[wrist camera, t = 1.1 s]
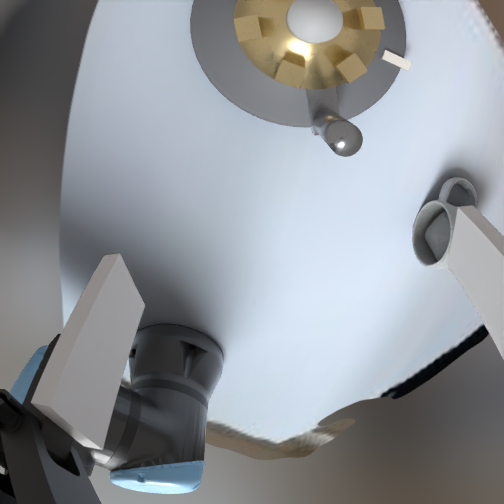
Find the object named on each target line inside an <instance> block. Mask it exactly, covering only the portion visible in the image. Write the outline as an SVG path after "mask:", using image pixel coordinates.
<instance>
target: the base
mask: <svg viewBox="0 0 504 504" xmlns="http://www.w3.org/2000/svg"><path fill="white" fill-rule="evenodd" d="M373 1H374V3H375V5H376V7H381V9H382V14H383V19H384V25H385V29H384V30H381V36H380V42H379V46H378V49H377V52H376V54H375V56H374V58H373V60H372V61H371V62H370V64H369V65H368V66H367V67H366V68H367V70H368V71H367V72H365V73H364V74H362V75H361V76H359V77H358V78H357V79H355V80H354V81H352V82H351V83H344V84H342V85H339V86H336V91H337V98H338V106H339V114H340V116H342V117H343V118H345V119H346V120H348V119H350V118H352V117H354V116H357V115H359V114H360V113H362V112H364V111H365V110H367V109H368V108H370V107H371V106H372V105H374V104H375V103H376V102H377V101H378V100H379V99H380V98H381V97H382V96H383V95H384V94H385V93H386V92H387V91H388V89H389V88H390V86H391V85H392V84H393V82H394V81H395V79H396V77H397V75H398V73H399V71H400V68H403V69H405V70H407V71H409V69H410V66H411V63H412V62H410V61H408V60H406V59H404V53H405V48H406V30H405V22H404V18H403V14H402V10H401V8H400V5H399V2H398V0H373ZM236 2H237V0H194V3H193V6H192V12H191V19H190V23H191V38H192V44H193V47H194V51H195V54H196V57H197V59H198V61H199V63H200V65H201V67H202V70H203V71H204V73H205V74H206V76H207V77H208V79H209V80H210V81H211V83H212V84H213V85H214V86H215V87H216V88H217V90H218V91H219V92H220V93H221V94H223V95H224V96H225V97H226V98H227V99H228V100H229V101H231V102H232V103H233V104H235V105H236V106H238V107H239V108H241V109H242V110H244V111H246V112H248V113H250V114H252V115H253V116H256V117H258V118H261V119H263V120H266V121H269V122H273V123H277V124H280V125H287V126H293V127H311V120H310V114H309V107H308V101H307V95H306V89H302V88H299V89H298V88H296V87H292V86H289V85H285V84H283V83H281V82H278V81H276V80H274V79H272V78H271V77H269V76H267V75H266V74H265V73H263V72H262V71H260V70H259V69H258V68H257V67H256V66H255V65H254V64H253V63H252V62H251V61H250V60H249V58H248V57H247V56H246V54H245V53H244V51H243V50H242V48H241V46H240V44H239V41H238V39H237V35H236V32H235V26H234V11H235V5H236ZM286 25H287V28H288V30H289V31H290V33H291V34H292V35H293V36H294V37H295V38H297V39H298V40H300V41H302V42H305V43H312V44H313V43H321V42H325V41H328V40H331V39H333V38H334V37H335V36H337V35H338V33H339V32H340V30H341V28H342V25H343V16H342V13H341V10H340V9H339V7H338V6H337V4H336V3H335V2H333V1H332V0H296V1H295V2H294V3H293V4H292V5H291V6H290V8H289V9H288V11H287V14H286Z"/></svg>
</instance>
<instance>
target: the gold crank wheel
mask: <svg viewBox="0 0 504 504" xmlns="http://www.w3.org/2000/svg"><path fill="white" fill-rule="evenodd" d="M295 1H296V0H237V2H236V5H235V11H234V26H235V32H236V35H237V39H238V41H239V44H240V46H241V48H242V50H243V51H244V53H245V54H246V56H247V57H248V58H249V60H250V61H251V62H252V63H253V64H254V65H255V66H256V67H257V68H258V69H259V70H260V71H262V72H263V73H265V74H266V75H267V76H269V77H271V78H272V79H274V80H276V81H278V82H281V83H283V84H285V85H289V86H292V87H296V88H298V89H299V88H302V89H306V95H307V101H308V107H309V114H310V120H311V127H312V133H313V134H314V135H320V136H321V137H322V138H323V139H324V141H325V142H326V143H327V144H328V145H329V147H330V148H331V149H332V150H333V151H334V152H335V153H336V154H338V155H340V156H345V157H346V156H351V155H354V154H355V153H356V152H358V151H359V149H360V148H361V145H362V141H363V138H362V134H361V131H360V130H359V129H358V128H357V127H356V126H355V125H353V124H352V123H350V122H349V121H348V120H346V119H345V118H343V117H342V116H340V114H339V106H338V98H337V91H336V86H339V85H342V84H344V83H351V82H352V81H354V80H355V79H357V78H358V77H359V76H361V75H362V74H364V73H365V72H367V71H368V70H367V68H366V67H367V66H368V65H369V64H370V62H371V61H372V60H373V58H374V56H375V54H376V52H377V49H378V46H379V42H380V36H381V30H384V29H385V25H384V19H383V14H382V9H381V7H376V5H375V3H374V1H373V0H332V1H333V2H335V3H336V4H337V6H338V7H339V9H340V10H341V13H342V16H343V25H342V28H341V30H340V32H339V33H338V35H337V36H335V37H334V38H333V39H331V40H328V41H325V42H321V43H313V44H312V43H305V42H302V41H300V40H298V39H297V38H295V37H294V36H293V35H292V34H291V33H290V31H289V30H288V28H287V25H286V14H287V11H288V9H289V8H290V6H291V5H292V4H293V3H294V2H295Z"/></svg>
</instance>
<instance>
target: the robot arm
mask: <svg viewBox="0 0 504 504" xmlns="http://www.w3.org/2000/svg"><path fill="white" fill-rule="evenodd" d="M447 266H448V267H449V269H450V270H451V272H452V273H453V275H454V276H455V278H456V279H457V281H458V282H459V284H460V285H461V287H462V288H463V290H464V291H465V293H466V294H467V296H468V298H469V299H470V301H471V303H472V304H473V306H474V307H475V309H476V311H477V312H478V314H479V316H480V317H481V319H482V321H483V323H484V324H485V326H486V328H487V330H488V331H489V333H490V335H491V337H492V338H493V340H494V342H495V344H496V346H497V348H498V349H499V352H500V354H501V356H502V357H503V359H504V236H503V235H502V234H501V233H500V232H499V231H498V230H497V229H496V228H495V227H494V226H493V225H492V224H491V223H490V222H489V221H488V220H487V219H486V218H485V217H484V216H483V215H482V214H481V213H480V212H479V211H478V210H477V209H476V208H475V207H474V206H473V205H471V206H462V207H458V209H457V215H456V221H455V227H454V232H453V238H452V243H451V248H450V252H449V257H448V262H447ZM144 308H145V304H144V302H143V300H142V298H141V296H140V294H139V292H138V290H137V288H136V286H135V284H134V282H133V279H132V277H131V275H130V273H129V271H128V269H127V267H126V265H125V262H124V260H123V258H122V256H121V254H120V253H117V254H111V255H105V256H103V258H102V260H101V261H100V263H99V265H98V267H97V268H96V270H95V272H94V273H93V275H92V277H91V279H90V280H89V282H88V284H87V286H86V288H85V289H84V291H83V293H82V295H81V297H80V299H79V300H78V302H77V304H76V306H75V308H74V310H73V312H72V314H71V316H70V318H69V319H68V321H67V323H66V325H65V327H64V329H63V331H62V333H61V334H58V335H57V336H56V337H55V338H54V339H53V341H52V342H51V343H50V344H49V345H45V346H42V347H40V348H39V349H38V350H37V351H36V352H35V353H34V354H33V356H32V357H31V359H30V360H29V362H28V363H27V364H26V366H25V367H24V369H23V370H22V372H21V373H20V375H19V377H18V378H17V380H16V381H15V383H14V385H13V386H12V388H11V390H10V391H9V392H8V391H6V390H5V389H0V466H2V467H3V468H5V471H4V474H1V473H0V504H101V502H100V500H99V498H98V496H97V494H96V492H95V490H94V488H93V486H92V484H91V482H90V480H89V477H90V476H91V473H92V470H93V467H94V465H98V466H101V467H104V468H106V469H108V470H110V471H111V472H110V473H109V476H110V480H111V482H112V483H114V484H116V485H119V486H120V487H123V488H127V489H132V490H137V491H143V492H152V493H165V494H172V493H173V494H177V493H187V492H191V491H194V490H195V489H197V488H198V487H199V485H200V483H201V479H202V473H203V467H204V464H205V461H204V452H205V438H206V424H207V410H208V401H209V399H210V397H211V395H212V393H213V391H214V389H215V387H216V385H217V383H218V381H219V379H220V377H221V374H222V368H223V355H222V352H221V350H220V348H219V347H218V346H217V344H216V343H215V342H214V341H212V340H211V339H210V338H209V337H207V336H206V335H204V334H202V333H200V332H198V331H196V330H193V329H190V328H187V327H183V326H179V325H171V324H159V325H153V326H149V327H146V328H144V329H142V330H140V331H139V332H137V329H138V326H139V323H140V320H141V317H142V314H143V311H144ZM136 332H137V333H136ZM128 357H129V367H130V378H131V388H130V389H129V388H127V387H125V386H123V385H122V384H120V383H121V380H122V376H123V373H124V370H125V366H126V363H127V360H128Z"/></svg>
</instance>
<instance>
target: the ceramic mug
mask: <svg viewBox="0 0 504 504" xmlns="http://www.w3.org/2000/svg"><path fill="white" fill-rule="evenodd" d="M455 183H457V184H460V185H461V186H462V187H463V188H464V189H466V190H467V193H468V197H469V206H471V205H473V206H474V207H475V208H476V209H477V203H478V201H477V193H476V191H475V188H474V187H473V185H472V184H471V183H470V182H469V181H468V180H466V179H464V178H461V177H454V178H450V179H448V180H447V181H446V182H445V183H444V184H443V186H442V189H441V191H440V194H439V198H438V200H432V201H430V202H428V203H426V204H425V205H424V206H423V207H422V209H421V210H420V212H419V213H418V215H417V218H416V220H415V223H414V228H413V237H412V242H413V248H414V252H415V255H416V257H417V259H418V260H419V262H420V263H421V264H422V265H424V266H425V267H428V268H437V269H449V267H448V266H447V262H448V257H449V252H450V248H451V243H452V238H453V232H454V227H455V221H456V215H457V209H458V207H456V206H454V205H451V204H448V202H447V199H448V196H449V194H450V191H451V189H452V187H453V186H454V184H455Z"/></svg>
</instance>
